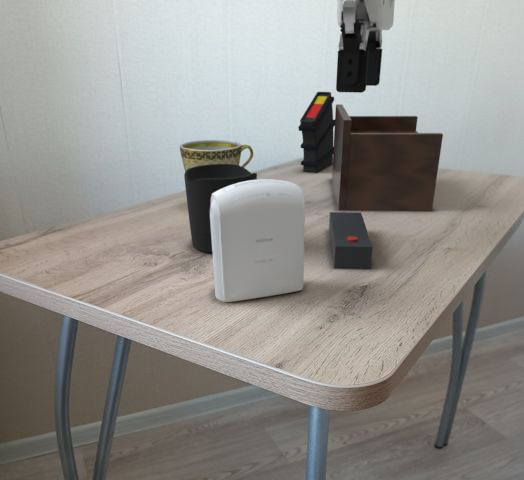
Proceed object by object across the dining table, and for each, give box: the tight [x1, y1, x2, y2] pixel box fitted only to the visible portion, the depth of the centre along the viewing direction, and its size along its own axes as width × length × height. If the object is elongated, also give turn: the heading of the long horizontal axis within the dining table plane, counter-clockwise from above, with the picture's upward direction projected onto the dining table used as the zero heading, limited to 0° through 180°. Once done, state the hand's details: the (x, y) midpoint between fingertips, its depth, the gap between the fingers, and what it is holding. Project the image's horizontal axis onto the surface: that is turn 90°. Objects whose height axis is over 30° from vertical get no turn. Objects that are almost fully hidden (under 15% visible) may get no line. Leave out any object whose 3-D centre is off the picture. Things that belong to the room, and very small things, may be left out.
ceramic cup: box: [179, 139, 254, 173], centre depth 92 cm, size 13×10×10 cm
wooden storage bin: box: [331, 103, 444, 212], centre depth 97 cm, size 15×22×14 cm
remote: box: [328, 211, 374, 270], centre depth 74 cm, size 4×15×3 cm, turn 176°
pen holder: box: [183, 164, 258, 255], centre depth 74 cm, size 9×9×10 cm
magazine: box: [297, 91, 335, 174], centre depth 117 cm, size 4×13×15 cm, turn 155°
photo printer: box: [210, 178, 306, 303], centre depth 59 cm, size 10×4×12 cm, turn 109°
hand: (358, 88), depth 65 cm, fingers open, 9 cm apart
